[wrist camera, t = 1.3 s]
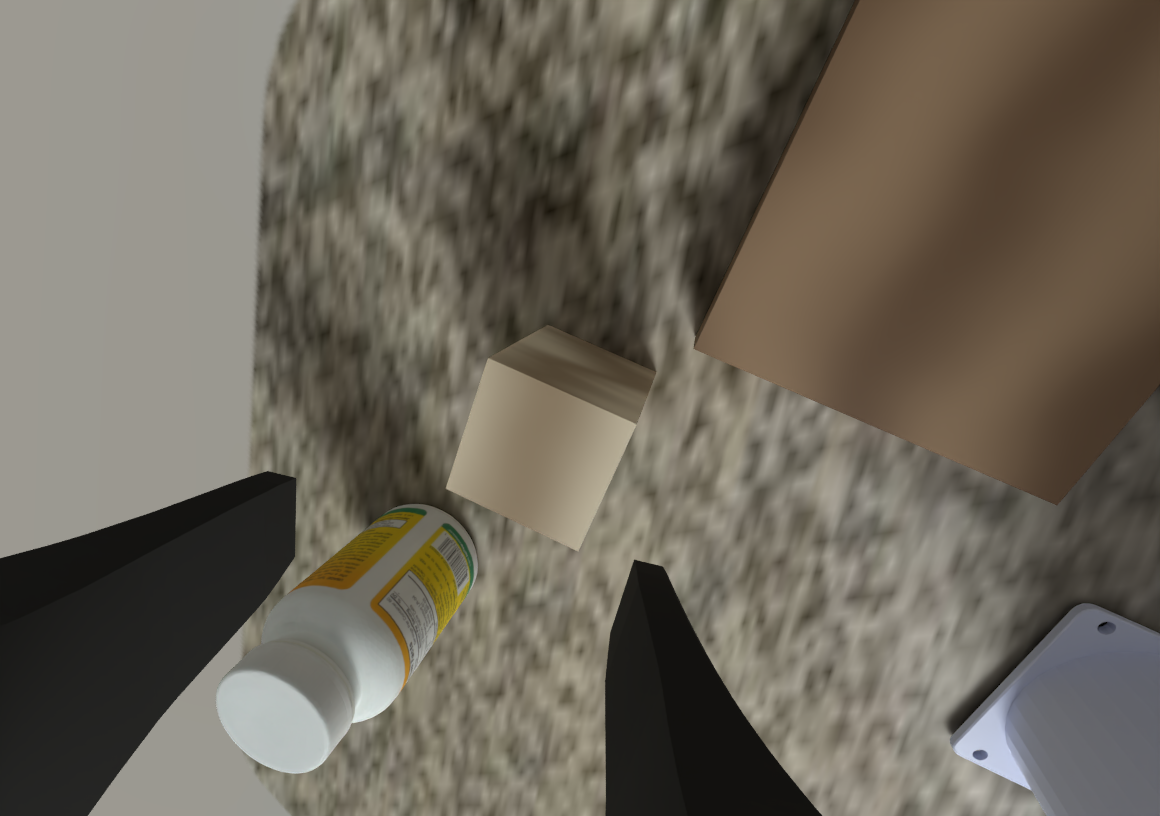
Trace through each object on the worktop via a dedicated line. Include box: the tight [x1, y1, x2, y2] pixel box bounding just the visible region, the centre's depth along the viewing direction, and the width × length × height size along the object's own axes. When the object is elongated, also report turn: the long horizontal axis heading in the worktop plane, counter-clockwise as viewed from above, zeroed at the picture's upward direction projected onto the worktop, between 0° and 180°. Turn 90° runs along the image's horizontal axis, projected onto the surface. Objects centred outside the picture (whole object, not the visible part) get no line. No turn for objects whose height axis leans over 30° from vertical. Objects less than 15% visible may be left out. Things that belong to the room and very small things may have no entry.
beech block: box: [446, 325, 656, 551], centre depth 18 cm, size 4×4×6 cm
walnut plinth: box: [694, 0, 1160, 505], centre depth 16 cm, size 12×12×2 cm
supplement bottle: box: [216, 504, 478, 773], centre depth 21 cm, size 5×5×10 cm
